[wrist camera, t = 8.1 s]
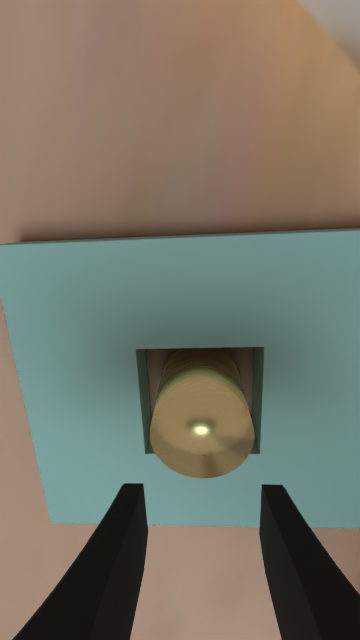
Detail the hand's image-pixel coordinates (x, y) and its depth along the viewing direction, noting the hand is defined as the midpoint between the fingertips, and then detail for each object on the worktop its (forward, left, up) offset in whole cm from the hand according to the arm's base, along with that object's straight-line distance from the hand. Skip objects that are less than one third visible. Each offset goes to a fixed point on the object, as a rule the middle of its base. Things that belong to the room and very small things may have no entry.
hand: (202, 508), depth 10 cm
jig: (0, 0, -8) cm, 8 cm away
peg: (0, 0, -8) cm, 8 cm away
